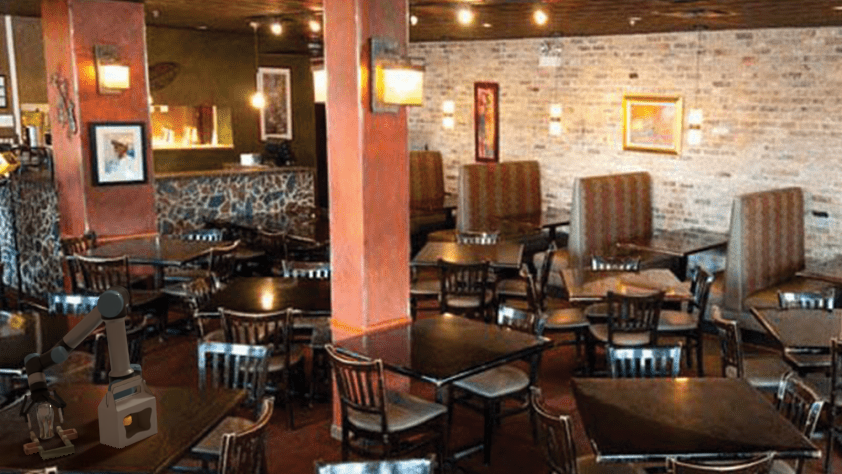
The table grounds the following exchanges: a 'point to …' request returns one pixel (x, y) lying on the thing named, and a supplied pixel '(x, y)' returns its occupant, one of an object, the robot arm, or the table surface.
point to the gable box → (134, 404)
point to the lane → (58, 451)
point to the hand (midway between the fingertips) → (46, 425)
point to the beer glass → (45, 420)
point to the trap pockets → (70, 433)
